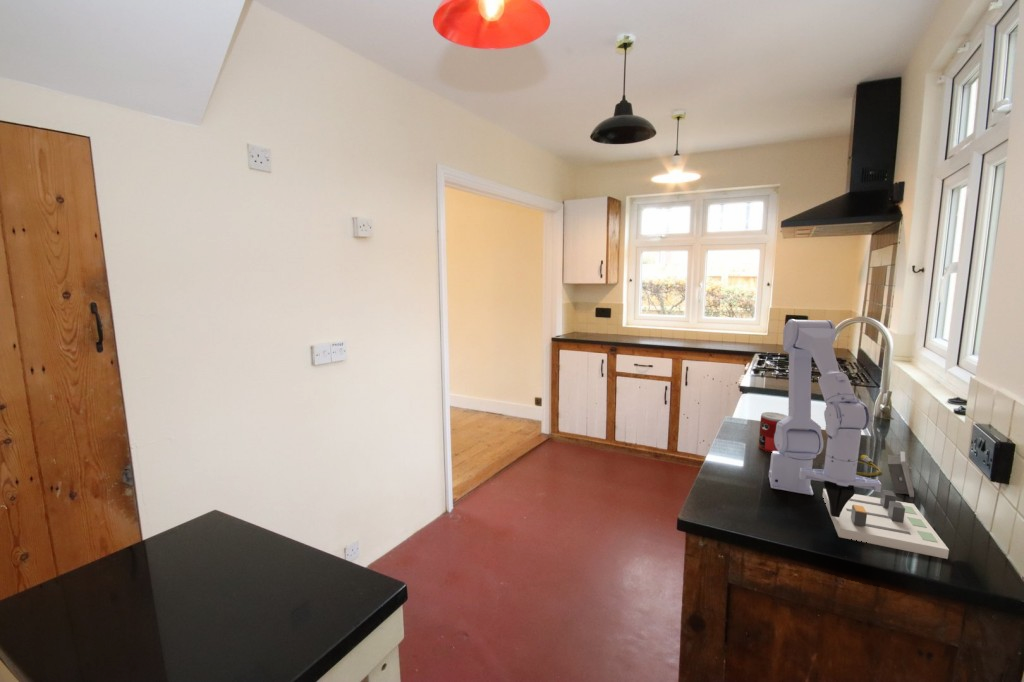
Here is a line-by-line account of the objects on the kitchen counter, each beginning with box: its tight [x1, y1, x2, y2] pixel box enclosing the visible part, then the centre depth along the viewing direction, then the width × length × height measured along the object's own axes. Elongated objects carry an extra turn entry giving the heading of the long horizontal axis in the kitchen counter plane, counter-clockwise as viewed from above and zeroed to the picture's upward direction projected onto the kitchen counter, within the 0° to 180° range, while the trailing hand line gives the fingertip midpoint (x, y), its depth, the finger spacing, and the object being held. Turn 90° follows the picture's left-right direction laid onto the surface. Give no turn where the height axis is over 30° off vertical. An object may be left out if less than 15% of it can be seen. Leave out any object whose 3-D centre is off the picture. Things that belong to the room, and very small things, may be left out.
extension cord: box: [856, 454, 882, 477], centre depth 136 cm, size 12×16×2 cm
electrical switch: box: [887, 451, 915, 498], centre depth 122 cm, size 9×5×9 cm, turn 141°
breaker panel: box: [822, 488, 950, 560], centre depth 105 cm, size 18×20×5 cm
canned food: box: [758, 411, 788, 453], centre depth 148 cm, size 8×8×11 cm
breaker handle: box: [851, 505, 867, 527], centre depth 101 cm, size 2×3×3 cm, turn 155°
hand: (834, 514), depth 103 cm, fingers closed
